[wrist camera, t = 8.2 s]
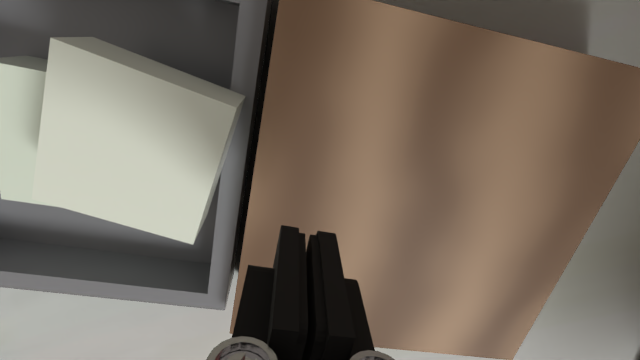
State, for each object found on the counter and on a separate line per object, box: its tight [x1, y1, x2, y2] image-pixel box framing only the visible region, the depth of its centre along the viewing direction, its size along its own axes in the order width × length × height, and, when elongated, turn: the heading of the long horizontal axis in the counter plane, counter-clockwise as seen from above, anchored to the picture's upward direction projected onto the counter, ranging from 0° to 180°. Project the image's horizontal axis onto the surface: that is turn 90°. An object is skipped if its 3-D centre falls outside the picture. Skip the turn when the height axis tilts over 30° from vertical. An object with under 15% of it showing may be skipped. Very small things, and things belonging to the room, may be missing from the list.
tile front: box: [32, 37, 246, 245], centre depth 14 cm, size 6×6×2 cm
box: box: [0, 0, 272, 310], centre depth 16 cm, size 14×16×3 cm
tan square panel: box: [230, 0, 640, 360], centre depth 18 cm, size 16×16×4 cm
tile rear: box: [0, 56, 58, 207], centre depth 16 cm, size 6×6×2 cm
